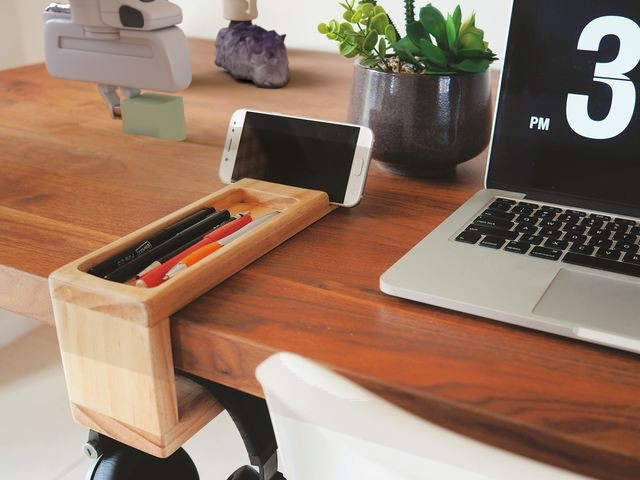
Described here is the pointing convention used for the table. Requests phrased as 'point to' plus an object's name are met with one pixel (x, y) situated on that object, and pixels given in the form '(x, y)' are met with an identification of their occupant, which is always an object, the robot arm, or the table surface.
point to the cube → (154, 116)
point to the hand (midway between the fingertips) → (123, 119)
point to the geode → (253, 55)
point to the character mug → (239, 11)
